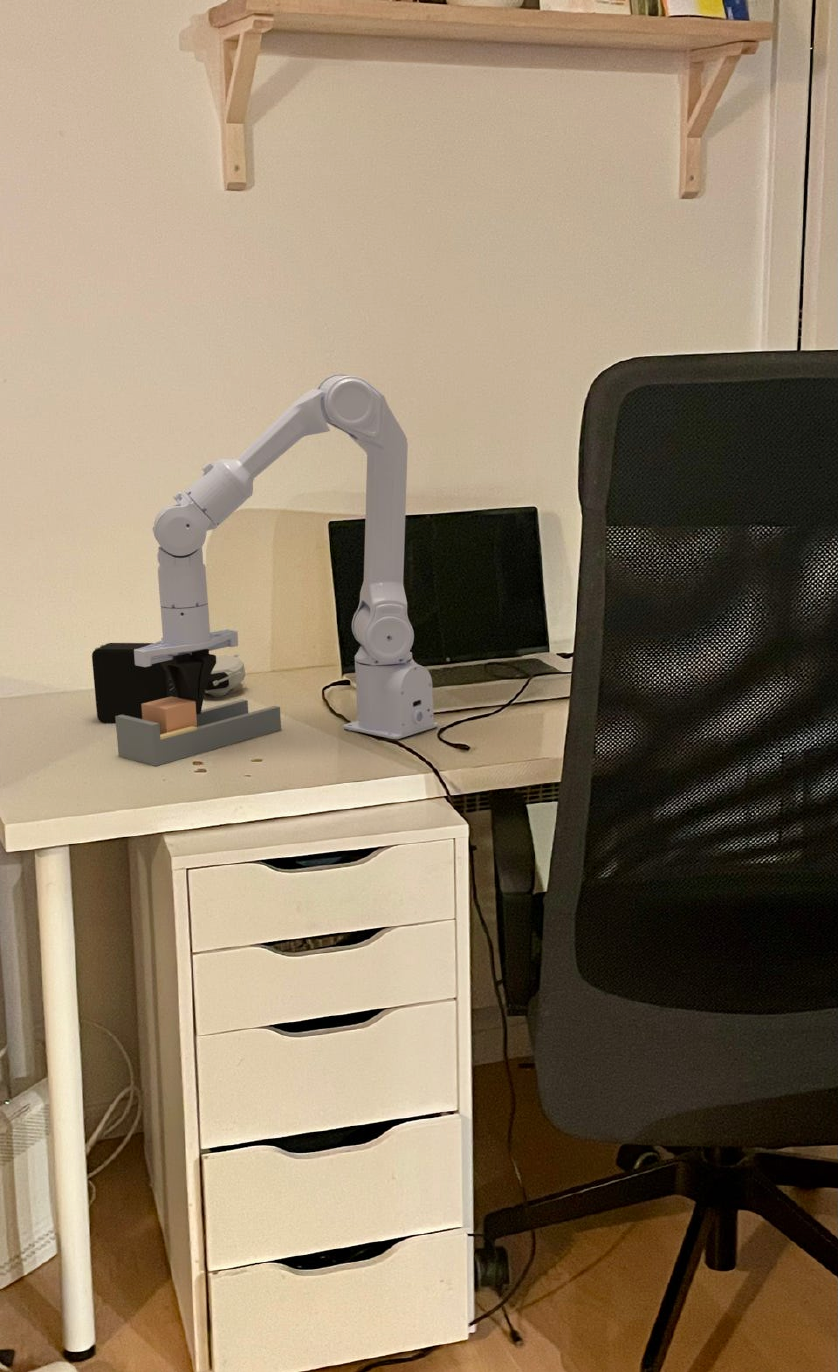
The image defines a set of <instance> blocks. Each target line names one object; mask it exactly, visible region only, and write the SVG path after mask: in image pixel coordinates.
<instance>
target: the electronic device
mask: <svg viewBox="0 0 838 1372" xmlns="http://www.w3.org/2000/svg"><path fill="white" fill-rule="evenodd" d="M153 643H154V642H108V643H105V644H101V645H99V647H95V648H94V650H93V651H92V653H91V662H92V663H91V664H92V670H93V671H92V673H93V683H94V686H93V687H94V693H95V694H94V696H95V698H94V699H95V706H96V707H95V708H96V717H97V720H98V721H99V722H100V723H102V724H108V725H109V724H111V725H112V724H115V725H116V719H115V716H119V715H126V716H130V717H134V718H139V719H143V718H142V705H141V704H143V703H147V702H151V701H155V700H159V699H163V698H167V697H171V696H172V697H177V698H178V695H177V692H176V690H175V688H174V685H173V683H172V682H171V680H170V678H169V676H168V675H167V673H166V672H165V670H164V669H163V667H162V666H161V662H159V663H154V664H151V666H148V667H142V666H137V665H135V658H134V649H139V648H142V647H145V646H148V645H151V644H153Z"/></svg>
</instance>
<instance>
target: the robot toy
mask: <svg viewBox="0 0 838 1372" xmlns="http://www.w3.org/2000/svg"><path fill="white" fill-rule="evenodd" d="M239 656H240V654H238V653H237V654H234V655H220V656H219V655H217V656H216V665H215V666H214V668H213V670H212V672H211V674H210V677H209V680H208V682H207V686H206V689H205V693H206V694H208V695H209V696H212V697H216V698H217V697H223V696H225V695H226V694H228V692H229V691H231V690H232V689H234V688H237V687H238V686H240V685H241V684H242V682H244V680H245V678H246V668H245V664H244V662H243V661H242V660H241V659H239V658H238V657H239Z"/></svg>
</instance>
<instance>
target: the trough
mask: <svg viewBox="0 0 838 1372" xmlns="http://www.w3.org/2000/svg"><path fill="white" fill-rule="evenodd" d="M248 703H249V702H248V700H247V699H238V700H234V701H231V702H226V703H224V704H220V705H219V704H218V705H216V706H213V707H212V706H211V707H209V708H204V709H202V710H201V714H197V715H196V717H197V727H193V726H190V727H186V728H183V729H179V730H175V731H172V732H168V733H164V734H161V735H160V727H159V723H155V722H151V721H147V720H143V719H139V718H134V717H130V716H126V715H119V716H115V719H116V724H115V728H116V729H115V730H116V740H117V743H116V744H117V751H118V752H117V753H118V757H119V758H124V759H128V760H131V761H135V762H138V763H142V764H147V765H150V766H154V767H157V766H161V765H164V764H168V763H171V762H175V761H178V760H182V759H184V758H188V757H193V756H196V755H199V754H202V753H207V752H210V751H214V750H217V749H220V748H224V747H227V746H230V745H233V744H237V743H241V742H244V741H248V740H251V739H255V738H258V737H261V736H262V737H263V736H264V735H268V734H272V733H274V732H275V733H276V732H278V731H281V730H282V721H281V720H282V719H281V707H280V706H276V705H274V706H269V707H266V708H262V709H258V710H255V711H251V712H249V704H248Z"/></svg>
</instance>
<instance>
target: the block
mask: <svg viewBox="0 0 838 1372" xmlns="http://www.w3.org/2000/svg"><path fill="white" fill-rule="evenodd" d="M141 705H142V718H143V720H147V721H151V722H155V723H159V727H160V735H161V734H164V733H168V732H172V731H175V730H179V729H183V728H186V727H190V726H193V727H197V717H196V703H195V701H191V700H186V699H181V698H177V697H172V696H171V697H167V698H163V699H159V700H155V701H151V702H147V703H143V704H141Z"/></svg>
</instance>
